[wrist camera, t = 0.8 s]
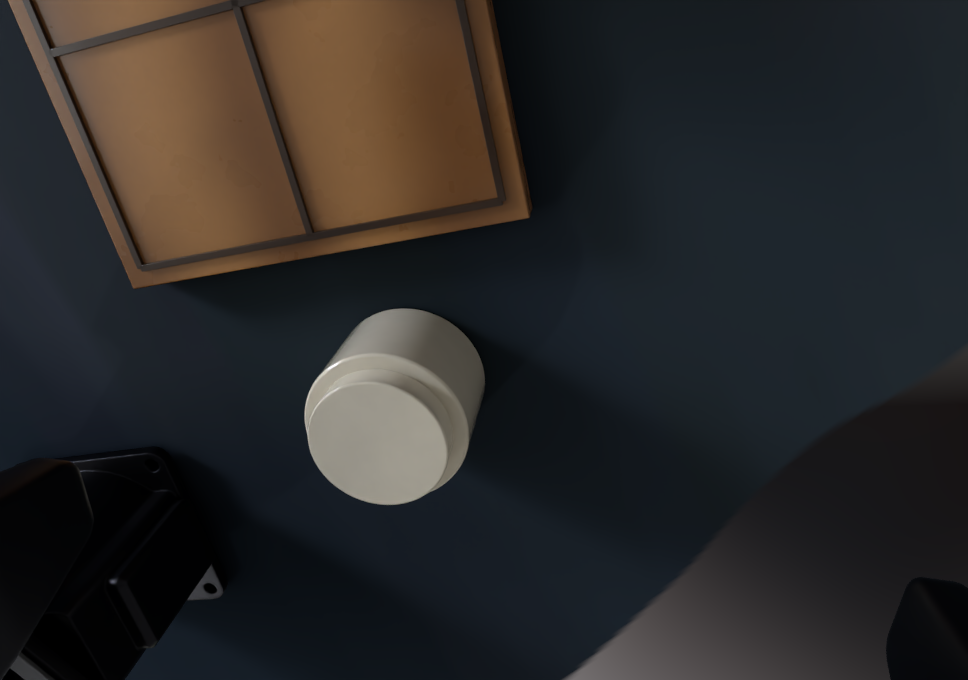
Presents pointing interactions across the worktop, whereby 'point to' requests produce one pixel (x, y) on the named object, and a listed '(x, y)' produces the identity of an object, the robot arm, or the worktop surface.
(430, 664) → the worktop surface
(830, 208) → the worktop surface
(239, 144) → the wooden grid board
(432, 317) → the white lidded jar
